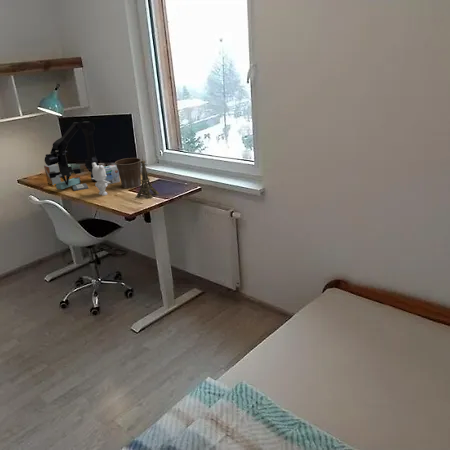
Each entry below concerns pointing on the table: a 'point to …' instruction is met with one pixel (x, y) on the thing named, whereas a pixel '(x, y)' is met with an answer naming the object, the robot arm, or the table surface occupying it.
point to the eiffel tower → (145, 184)
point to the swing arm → (70, 183)
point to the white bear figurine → (100, 178)
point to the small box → (51, 169)
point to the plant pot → (129, 172)
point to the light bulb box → (112, 174)
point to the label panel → (80, 187)
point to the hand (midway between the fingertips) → (67, 185)
